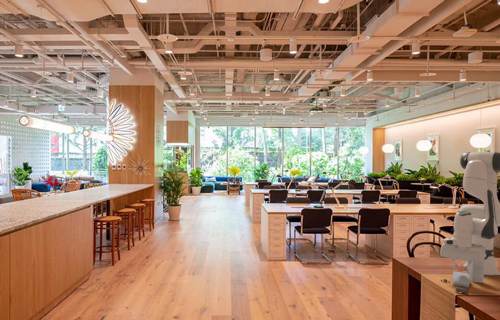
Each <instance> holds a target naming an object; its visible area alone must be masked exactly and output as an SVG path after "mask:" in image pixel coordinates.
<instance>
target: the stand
mask: <svg viewBox="0 0 500 320" xmlns="http://www.w3.org/2000/svg"><path fill="white" fill-rule="evenodd" d="M444 280H445V281H444ZM440 281H441V282H443V283H445V282H446V283H445V284H447V283H450V282H451V281H450V280H448V279H445V278H443V279H442V278H441V279H440Z"/></svg>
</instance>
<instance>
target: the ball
mask: <svg viewBox="0 0 500 320" xmlns="http://www.w3.org/2000/svg"><path fill="white" fill-rule="evenodd" d="M463 265H464V264H457V268H456V269H457V270H458V272H464V271H465V267H464V266H463Z"/></svg>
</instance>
